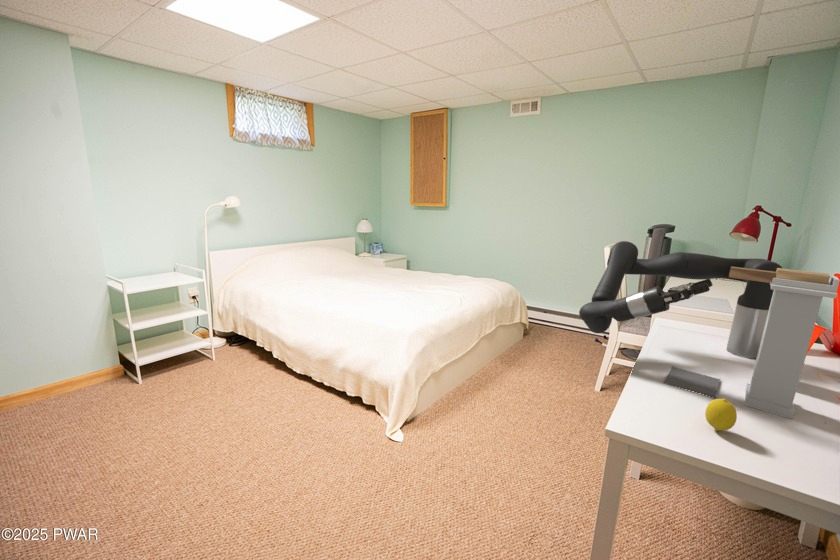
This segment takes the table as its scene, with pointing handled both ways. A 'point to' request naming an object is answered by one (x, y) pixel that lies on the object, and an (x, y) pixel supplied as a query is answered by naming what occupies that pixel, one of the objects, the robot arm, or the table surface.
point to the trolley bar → (778, 275)
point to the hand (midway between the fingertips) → (709, 284)
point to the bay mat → (692, 381)
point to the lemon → (721, 414)
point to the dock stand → (785, 343)
